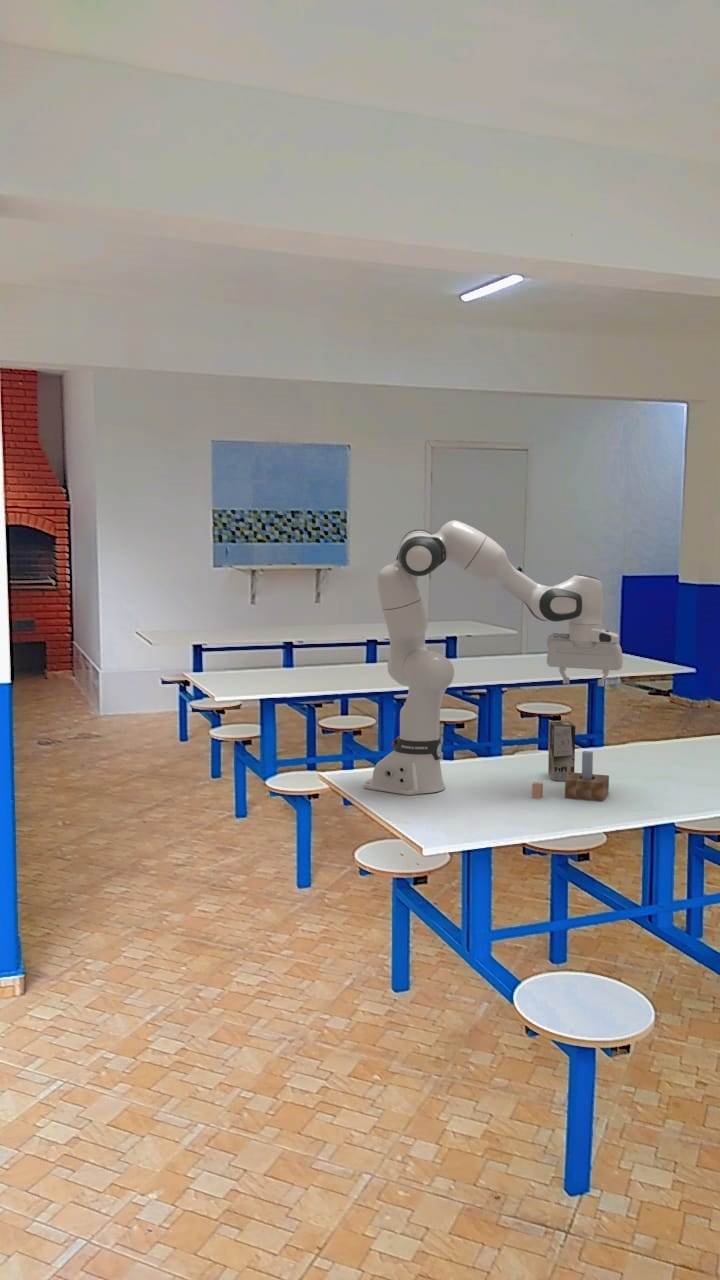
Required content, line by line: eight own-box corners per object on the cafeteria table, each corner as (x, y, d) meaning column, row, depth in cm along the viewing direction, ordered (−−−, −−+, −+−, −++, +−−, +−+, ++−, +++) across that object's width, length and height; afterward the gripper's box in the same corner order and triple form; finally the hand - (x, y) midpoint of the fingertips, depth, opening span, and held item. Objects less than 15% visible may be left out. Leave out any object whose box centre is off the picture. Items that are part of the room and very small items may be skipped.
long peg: (581, 796, 273) (582, 752, 272) (583, 794, 275) (584, 750, 274) (590, 797, 272) (591, 753, 271) (592, 795, 274) (592, 751, 273)
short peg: (532, 798, 271) (532, 783, 270) (534, 796, 273) (534, 781, 272) (540, 798, 270) (541, 784, 269) (542, 797, 272) (543, 782, 272)
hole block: (564, 798, 270) (565, 779, 270) (571, 790, 280) (572, 772, 279) (602, 801, 267) (603, 783, 266) (608, 793, 276) (608, 775, 275)
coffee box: (575, 781, 291) (576, 726, 290) (552, 781, 291) (553, 725, 290) (569, 774, 300) (570, 720, 299) (547, 774, 300) (548, 720, 299)
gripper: (544, 633, 275) (543, 683, 276) (621, 636, 267) (619, 688, 268) (549, 632, 281) (548, 681, 282) (624, 635, 273) (622, 686, 274)
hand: (583, 685), depth 275 cm, fingers open, 8 cm apart
